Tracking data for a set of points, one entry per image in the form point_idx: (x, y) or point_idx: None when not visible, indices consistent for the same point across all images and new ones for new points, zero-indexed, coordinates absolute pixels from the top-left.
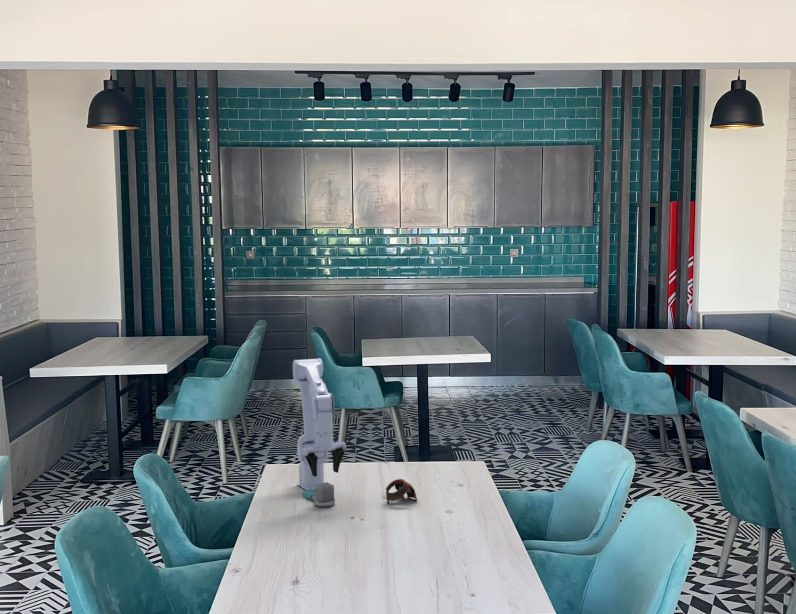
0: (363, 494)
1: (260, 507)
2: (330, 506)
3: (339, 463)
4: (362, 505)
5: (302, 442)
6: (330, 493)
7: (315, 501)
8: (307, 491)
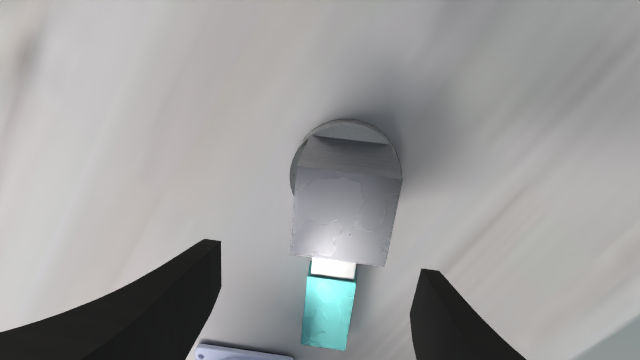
0: (107, 172)
1: (580, 333)
2: (345, 120)
3: (146, 279)
4: (189, 15)
5: None
6: (330, 152)
7: None
8: (331, 333)
